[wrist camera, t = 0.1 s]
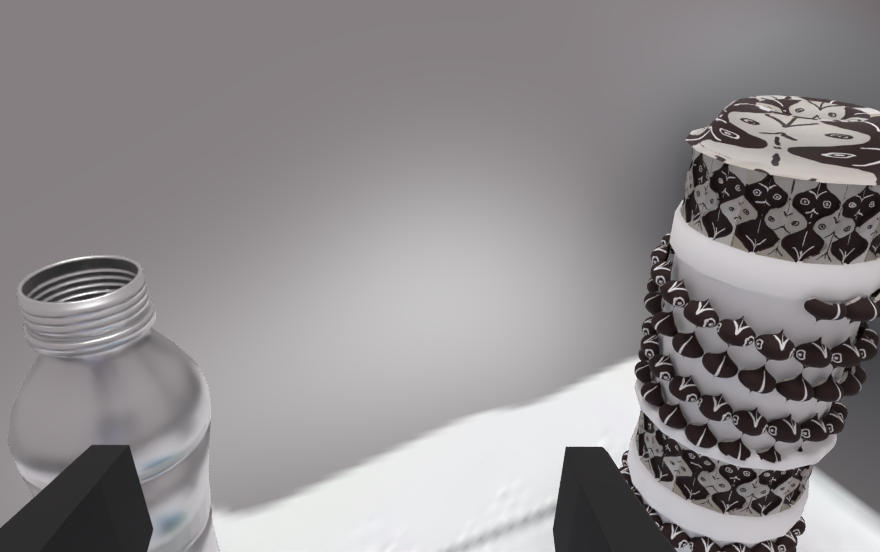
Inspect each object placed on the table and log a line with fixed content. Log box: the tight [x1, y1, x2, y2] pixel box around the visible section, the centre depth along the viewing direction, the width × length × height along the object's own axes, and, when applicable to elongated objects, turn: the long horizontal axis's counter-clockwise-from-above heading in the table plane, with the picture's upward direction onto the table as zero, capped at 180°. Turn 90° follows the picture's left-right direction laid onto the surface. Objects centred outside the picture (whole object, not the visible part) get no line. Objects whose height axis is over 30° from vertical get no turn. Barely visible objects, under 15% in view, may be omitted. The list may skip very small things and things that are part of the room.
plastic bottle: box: [8, 255, 220, 552], centre depth 26 cm, size 6×7×20 cm
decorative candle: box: [619, 95, 880, 552], centre depth 30 cm, size 9×9×25 cm
